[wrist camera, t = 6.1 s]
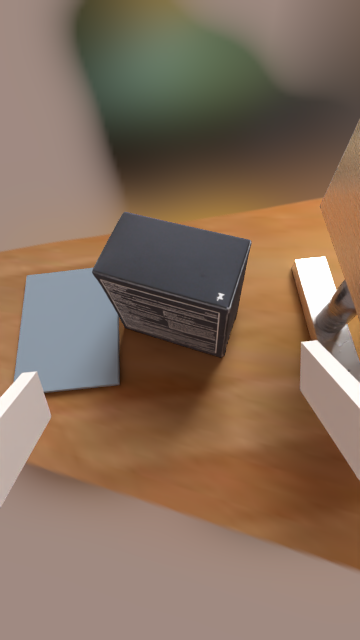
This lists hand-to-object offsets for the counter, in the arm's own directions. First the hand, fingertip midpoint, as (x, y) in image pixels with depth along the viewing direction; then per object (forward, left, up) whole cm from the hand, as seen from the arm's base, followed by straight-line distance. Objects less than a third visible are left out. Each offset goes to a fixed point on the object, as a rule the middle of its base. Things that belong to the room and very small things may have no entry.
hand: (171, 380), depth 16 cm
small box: (-1, -10, -14) cm, 17 cm away
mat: (+11, -10, -14) cm, 20 cm away
